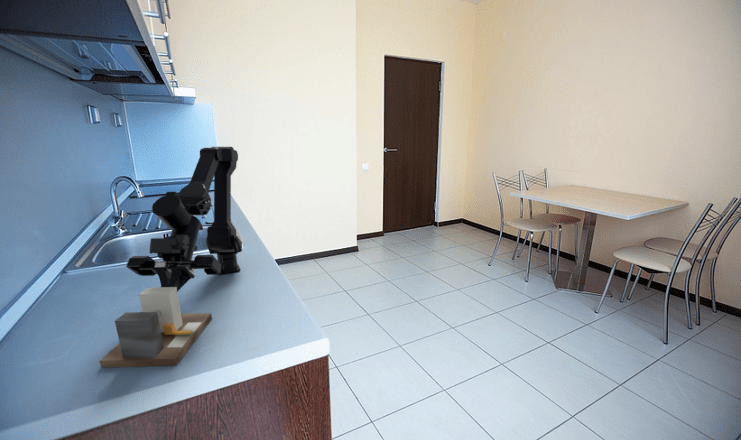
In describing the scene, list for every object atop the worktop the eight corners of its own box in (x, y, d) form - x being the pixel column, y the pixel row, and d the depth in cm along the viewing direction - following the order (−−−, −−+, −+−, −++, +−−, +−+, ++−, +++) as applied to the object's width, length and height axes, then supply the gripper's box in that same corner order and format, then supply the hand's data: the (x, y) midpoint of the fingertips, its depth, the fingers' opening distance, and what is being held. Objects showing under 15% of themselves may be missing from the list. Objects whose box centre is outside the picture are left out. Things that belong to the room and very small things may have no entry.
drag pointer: (167, 332, 72) (165, 323, 71) (192, 331, 72) (190, 322, 71) (164, 335, 71) (163, 326, 70) (190, 334, 71) (188, 325, 70)
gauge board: (151, 320, 80) (144, 283, 78) (212, 318, 81) (207, 282, 78) (101, 367, 64) (90, 323, 62) (176, 365, 65) (168, 321, 62)
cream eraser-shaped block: (154, 324, 74) (147, 287, 72) (182, 324, 75) (176, 287, 72) (134, 344, 68) (126, 303, 65) (165, 343, 68) (157, 303, 66)
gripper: (123, 221, 74) (96, 290, 66) (210, 220, 75) (193, 288, 67) (150, 244, 84) (129, 307, 76) (227, 243, 84) (214, 305, 76)
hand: (165, 302), depth 73 cm, fingers closed, pressing on cream eraser-shaped block
